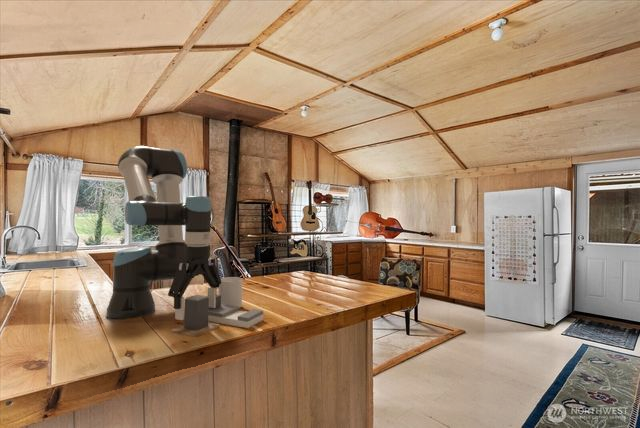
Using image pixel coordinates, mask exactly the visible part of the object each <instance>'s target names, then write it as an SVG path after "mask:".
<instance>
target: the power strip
mask: <svg viewBox="0 0 640 428" xmlns="http://www.w3.org/2000/svg"><path fill="white" fill-rule="evenodd" d="M263 320H264V310H262V309H255V308H253V309H251V310H248V311H246V310H241V309H240V308H239V307H236V306H230V305H223V304H221V295H218V294H216V308H210V307H209V311H208V322H210V323H215V324H221V325H228V326H234V327H239V328H245V329H249V328H250V327H252V325H253V326H255V325H257V324H258V323H260V322H263Z"/></svg>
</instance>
